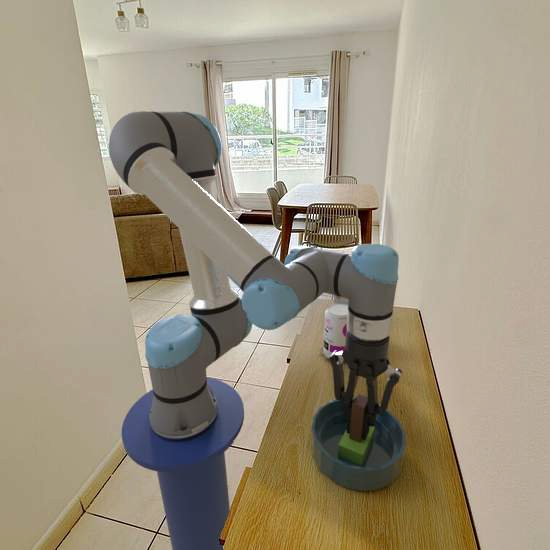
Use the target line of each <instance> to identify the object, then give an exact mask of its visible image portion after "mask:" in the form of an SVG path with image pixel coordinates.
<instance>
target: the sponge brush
mask: <svg viewBox="0 0 550 550" xmlns="http://www.w3.org/2000/svg"><path fill="white" fill-rule="evenodd" d="M354 398H355V399H354V401H353V403H352V412H351V423H350V434H348V433H346V431H347V429H346V431H345V433H344V435H343V437H342V439H341V441H340V443H339V448H338V456H340V457H343V458H345V459H347V460H349V461H351V462H354V463H356V464H358V465H360V466H362V465H363V463H364V460H365V458H366V455H367V453H368V451H369V448H370V446H371V443H372V441H373V438H374V432H375V427H374V426H373V427H371V426H370V428H369V433H368V435H367V437H366V440H363V439H362V429H363V420H364V413H365V411H366V409H367V407H368V396H367V395H366V396H365V395H363V394H360V393H357V394H356V396H355V397H354Z"/></svg>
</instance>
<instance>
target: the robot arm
mask: <svg viewBox="0 0 550 550" xmlns="http://www.w3.org/2000/svg"><path fill="white" fill-rule="evenodd" d="M108 153H109V158H110V161H111V164H112V166H113V168H114V170H115V172H116V174H117V175H118V177H119V178H120V179H121V181H122V182H123V183H124V184H125V185H126V186H127V187H128V188H129V189H130V190H131V191H132V192H133V193H135V194H137V195H140V196H146V198H147V199H149V201H151V202H152V204H153V205H155V206H156V207H157V208H158V209H159V210H160V211H161V212H162V213H163V214H164V215H165V216H166V217H167V218H168V219H169V220H170V221H171V222H172V223H173V224H174V225H175V226H176V227H177V228H178V230H179V235H180V239H181V244H182V247H183V252H184V257H185V261H186V265H187V270H188V275H189V279H190V283H191V287H192V293H193V296H192V298H191V299H190V301H189V302H188V303H189V304H188V305H189V309H190V314H176V315H175V316H167V317H165V318H162V319H161V320H159V321H158V322H156V323H155V324H153V326H152V327H151V328H150V329H149V330H148V331H147V334H146V336H145V341H144V346H145V347H144V349H145V360H146V362H147V366H148V371H149V372H148V373H149V376H150V377H149V378H150V382H151V388H152V389H153V394H154V395H153V400H152V406H151V409H150V413H149V421H150V426H151V429H152V431H153V433H154V434H155V435H156V436H158V437H159V438H161V439H163V440H167V441H174V442H178V441H186V440H190V439H193V438H195V437H197V436H199V435H201V434H203V433H204V432H206V431H207V430H208V429H209V428H210V427H211V426H212V425H213V424H214V422H215V421H216V418H217V416H218V403H217V400H216V397H215V395H214V394H213V392H212V390H211V388H210V386H209V384H208V383H207V377H208V376H207V369H208V367H209V366H210V365H212V364H213V363H215V362H216V361H217V360H219V359H220V358H221V357H223V356H224V355H225V354H227V353H228V352H229V351H231V350H232V349H233V348H236V347H237V346H239V345H240V344H241V343H242V342H243V341H244V340H245V339H246V338H247V337H248V336H249V335H250V333H251V331H252V328H253V325H254V326H255V327H256V328H259V329H261V330H265V331H273V330H277V329H279V328H280V327H282V326H283V325H285V324H286V323H288V322H290V321H291V320H293V319H295V318H297V316H298V315H299V313H300V312H302V311H303V310H304V309H306V308H307V307H308V306H309V305H310V304H312V303H314V302H315V301H316V300H317V299H318V298H319V297H321V296H322V295H323V294H329V295H333V296H334V295H336V296H340V297H346V298H348V315H347V331H346V341H345V349H344V351H343V352H339V351H337V350H335V351H334V352H333V353H332V355H331V356H330V357H329V359H328V360H329V363H330V365H331V367H332V377H333V390H334V391H333V392H334V399H335V400H336V399H337V400H341V401H342V402H343V403H344V409H343V415H344V416H345V417H348V419H347V431H346V433H348V434H350V423H351V412H352V403H353V401H354V399H353V398H355V391H356V388H357V384H358V379H359V377H362V378H364V379H365V384H366V389H367V393H366V394H367V397H368V407H367V409H366V411H365V413H364V420H363V429H362V439H363V440H366V437H367V435H368V433H369V428H370V426H371V427H373V426H374V424H375V421H376V415H377V414H379V415H380V416H384V415H385V413H386V410H388V407H389V404H390V401H391V398H392V395H393V392H394V388H395V386H396V385H397V384H398V383H399V382H400V379H401V377H402V375H403V371H402V369H400V368H394V367H393V366H391V365H390V361H389V357H388V354H389V347H390V338H391V337H390V334H391V331H392V323H393V316H394V315H393V314H394V305H395V298H396V290H397V287H398V286H397V285H398V280H399V262H400V261H399V260H400V256H399V253H398V252H397V251H396V250H395V248H393V247H391V246H389V245H384V244H379V243H362V244H359V245H355V247H353V249H352V251H351V253H343V252H338V251H333V250H328V249H322V248H318V247H316V246H304V245H297V246H294V247H292V248H291V249H290V250H289V253H288V254H287V255H286V257H285V259H284V263H283V262H282V261H281V260H280V259H279V258H277V257H276V256H275V255H274V254H273V253H272V252H271V251H270V250H269V249H268V248H267V247H265V245H264V244H262V243H261V242H260V241H259V240H258V239H257V238H256V237H255V236H254V235H253V234H252V233H251V232H250V231H248V230H247V229H246V227H244V225H242V224H241V223H240V222H239V221H238V220H236V218H235V217H233V216H232V215H231V214H230V213H229V212H228V211H227V209H225V208H224V207H223V206H222V205H221V204H220V203H218V202H217V200H215V199H214V195H213V190H212V184H213V182H214V181H215V179H216V178H217V174H216V166H218V164H219V163H220V160H221V159H220V158H221V157H222V154H223V144H222V140H221V136H220V133H219V130H218V129H217V127H216V126H215V125H214V124H213V122H211V120H209V119H208V118H207V117H206V116H204V115H202V114H200V113H195V112H189V111H185V110H184V111H153V110H151V111H150V110H136V111H132V112H129V113H127V114H125V115H123V116H122V117H121V118H120V119H118V121H116V123H115V124H114V125H113V127H112V130H111V132H110V135H109V139H108ZM229 279H230V280H231V281H232V282H233V283H234V284H235V285H236V286H237V287H238V288H239V289H240V290H241V292H242V297H240V296H239V293H238V292H237V291H236V290H234V289H233V288H231V285H230V284H231V283H230V280H229ZM344 360H345V361H344ZM344 362H345V364H346V365H347V367H348V369H349V370H350V371H349V373H348V381H347V385H345V371H344V370H345V368H344ZM384 373H386V375H385V377H386V381H387V382H386V384H385V388H384V390H383V394H382V398H381V401H380V403H379V394H378V393H379V392H378V391H379V390H378V377H379V376H381V375H382V374H384ZM345 386H346V387H345ZM345 388H346V389H345ZM352 399H353V400H352Z"/></svg>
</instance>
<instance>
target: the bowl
mask: <svg viewBox="0 0 550 550" xmlns="http://www.w3.org/2000/svg"><path fill="white" fill-rule="evenodd" d="M355 398H356V397H353V399H355ZM353 399H352V400H353ZM343 409H344V403H343V402H342V401H341V400H337V399H336V398H335V399H332V400H330V401H328V402H326V403H325V404H323V405H322V406H320V407H319V408H318V409H317V411H316V412H315V413H314V415H313V417H312V422H311V428H310V450H311V454H312V457H313V460H314V462H315V464H316V465H317V467H318V468H319V470H320V471H321V473H323V474H324V475H325V476H326V477H327V478H329V479H330V480H331V481H333V482H335V483H337V485H338V484H339V485H340V486H343V487H344V488H347V489H352V490H356V491H357V490H358V491H362V492H365V491H367V492H368V491H377V490H380V489H383V488H385V487H386V486H389V485H391V484H392V483H394V481H395V480H396V479H397V478H398V477H399V476H400V475H401V472H402V468H403V466H404V465H403V464H404V460H405V454H406V449H407V436H406V431H405V429H404V427H403V426H402V424H401V422H400V420H399V419H398V418H397V417H396V416H395V415H394V414H393V413H392V412H391V411H390V410H389V409H387V410H386V413H385V415H384V416H380V415H379V414H377V415H376V421H375V424H374V427H375V432H374V438H373V441H372V443H371V446H370V448H369V451H368V453H367V455H366V458H365V460H364V463H363V465H362V466H360V465H358V464H356V463H354V462H351V461H349V460H347V459H345V458H343V457H340V456H338V448H339V443H340V441H341V439H342V437H343V435H344V433H345V431H346V429H347V419H348V417H345V416H344V415H343Z"/></svg>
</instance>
